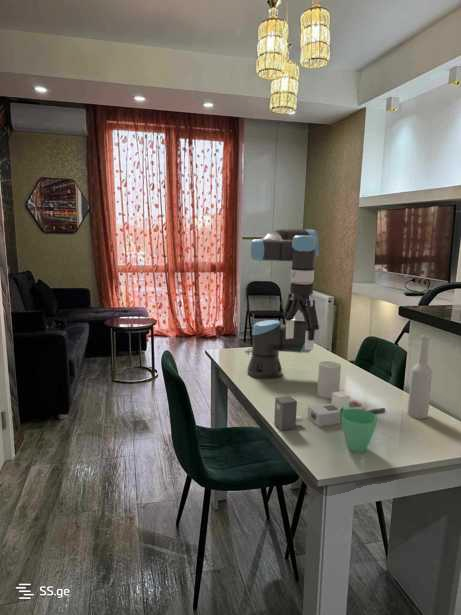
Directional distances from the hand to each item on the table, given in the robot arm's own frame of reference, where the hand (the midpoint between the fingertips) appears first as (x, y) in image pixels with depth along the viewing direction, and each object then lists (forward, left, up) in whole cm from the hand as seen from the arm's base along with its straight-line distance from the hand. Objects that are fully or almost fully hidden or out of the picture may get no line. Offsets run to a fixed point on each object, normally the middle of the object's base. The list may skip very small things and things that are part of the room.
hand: (298, 343), depth 146 cm
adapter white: (+12, +10, -20) cm, 25 cm away
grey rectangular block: (+12, -9, -23) cm, 28 cm away
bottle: (+18, +38, -24) cm, 48 cm away
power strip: (+12, +15, -24) cm, 30 cm away
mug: (+29, +3, -24) cm, 37 cm away
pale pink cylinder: (-8, +19, -24) cm, 31 cm away
